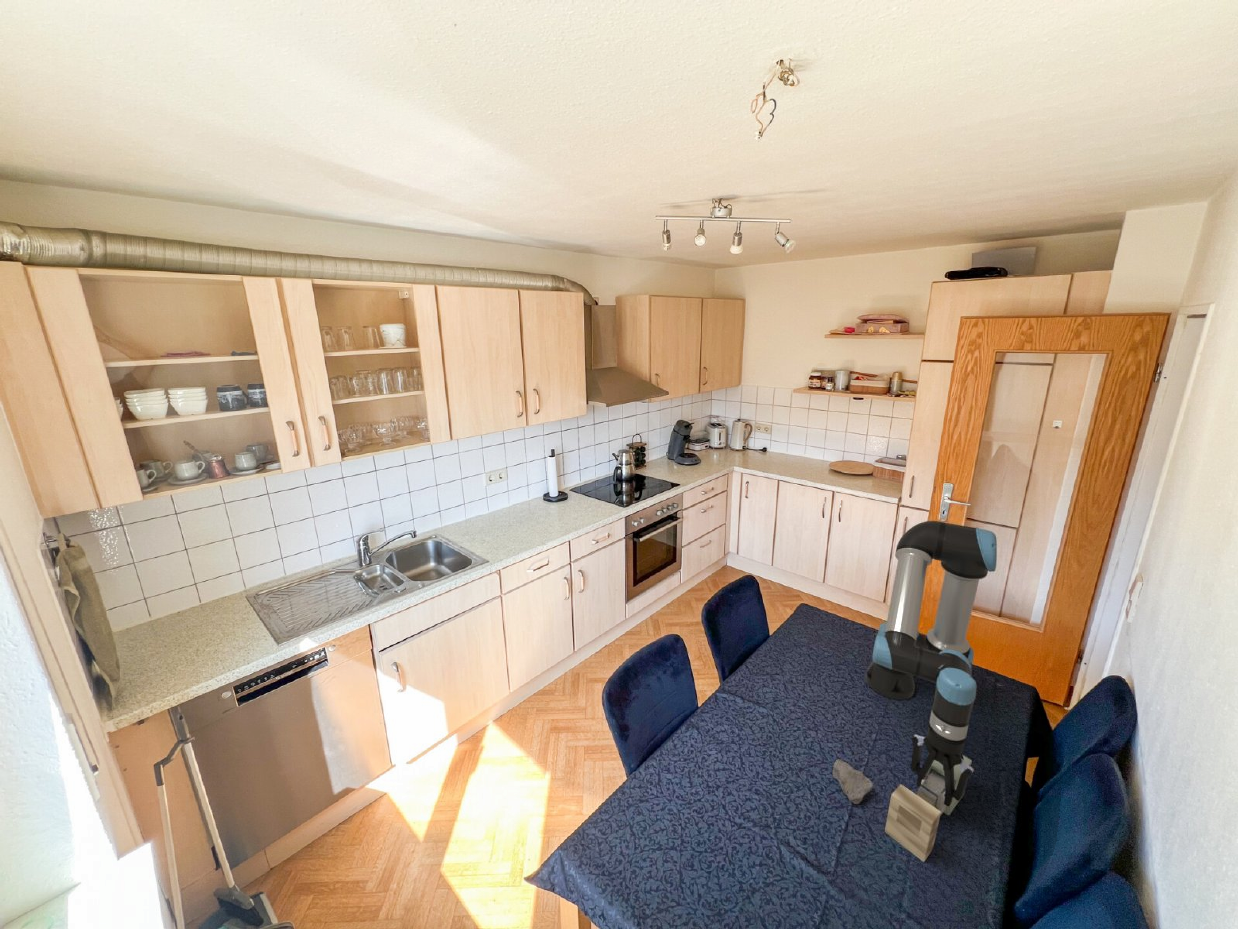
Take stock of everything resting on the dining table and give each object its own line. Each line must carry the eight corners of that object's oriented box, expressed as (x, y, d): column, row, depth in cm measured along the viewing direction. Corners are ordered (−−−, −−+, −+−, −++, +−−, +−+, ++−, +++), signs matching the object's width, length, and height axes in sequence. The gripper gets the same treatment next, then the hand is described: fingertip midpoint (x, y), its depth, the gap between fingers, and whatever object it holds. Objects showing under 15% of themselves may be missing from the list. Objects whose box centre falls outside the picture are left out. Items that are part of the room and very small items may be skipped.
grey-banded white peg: (945, 763, 133) (947, 752, 132) (961, 774, 130) (964, 762, 129) (915, 800, 122) (917, 788, 121) (932, 812, 119) (935, 800, 118)
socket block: (893, 820, 124) (900, 784, 120) (932, 849, 117) (941, 811, 113) (884, 831, 121) (891, 794, 118) (923, 862, 114) (932, 823, 111)
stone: (856, 811, 126) (858, 793, 125) (823, 782, 134) (825, 765, 133) (874, 795, 130) (877, 778, 129) (841, 769, 138) (843, 752, 137)
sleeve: (936, 777, 136) (943, 744, 133) (964, 794, 130) (971, 760, 127) (920, 796, 130) (927, 762, 127) (948, 816, 125) (956, 781, 122)
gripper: (903, 716, 123) (890, 789, 129) (981, 761, 110) (963, 840, 116) (916, 703, 127) (903, 774, 134) (993, 745, 114) (975, 822, 120)
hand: (931, 804), depth 125 cm, fingers closed on grey-banded white peg, 4 cm apart
